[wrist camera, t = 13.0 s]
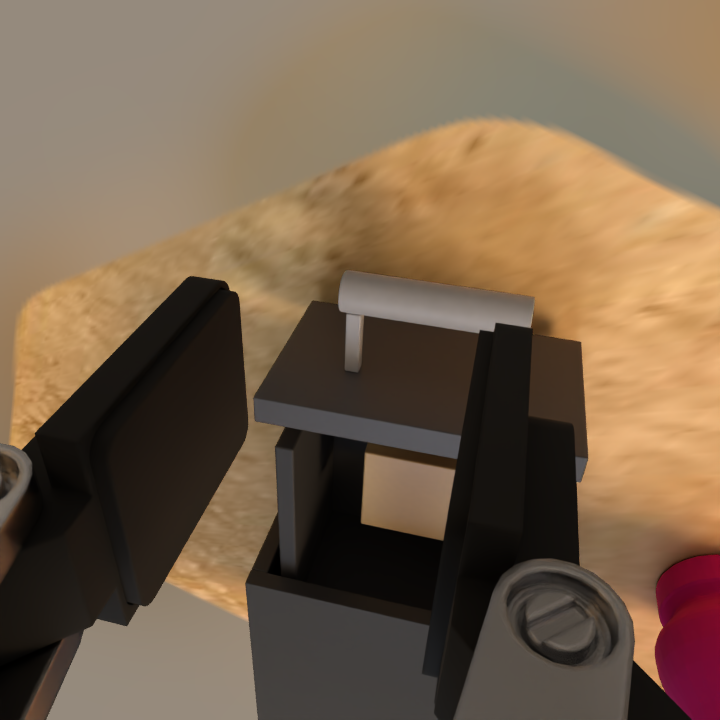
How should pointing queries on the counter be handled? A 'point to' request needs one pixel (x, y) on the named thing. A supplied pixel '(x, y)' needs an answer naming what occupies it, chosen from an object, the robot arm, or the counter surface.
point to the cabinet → (333, 649)
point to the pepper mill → (691, 635)
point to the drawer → (388, 418)
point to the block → (406, 490)
